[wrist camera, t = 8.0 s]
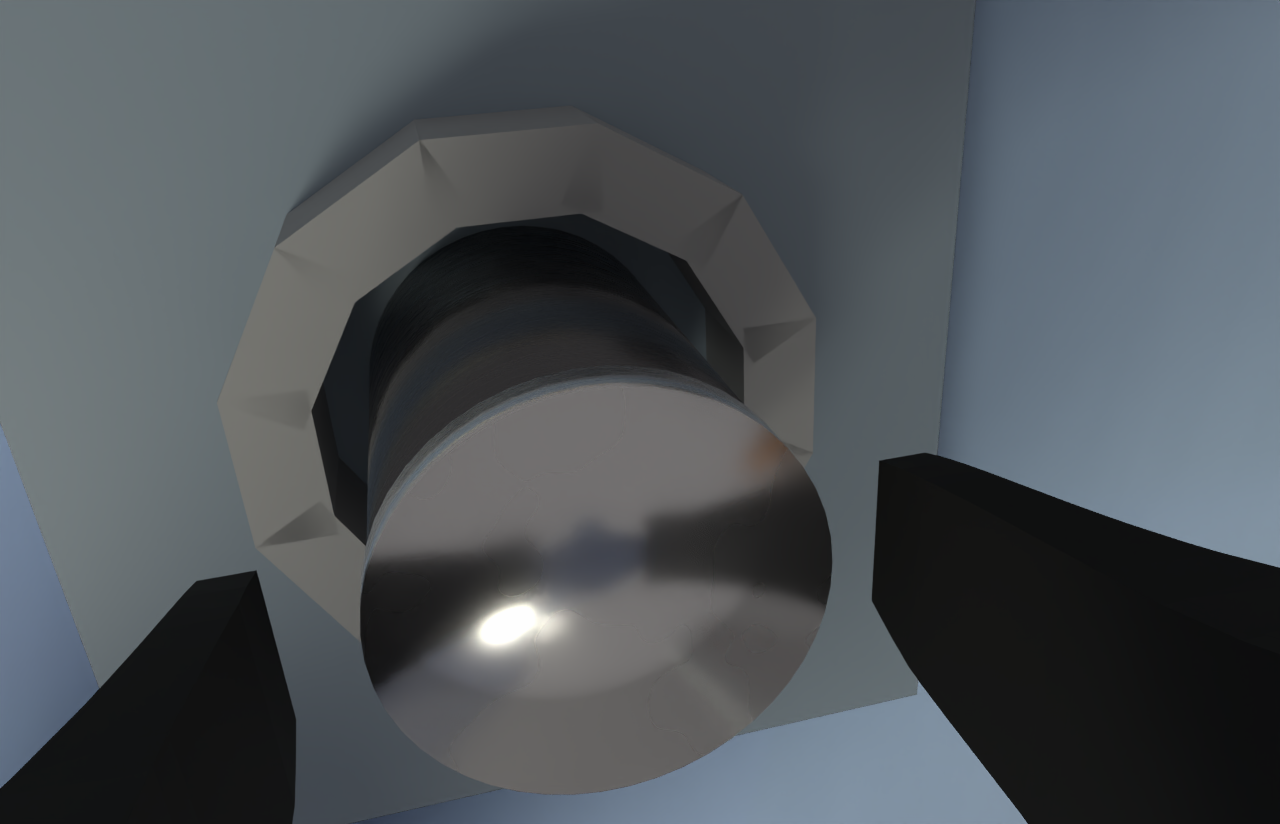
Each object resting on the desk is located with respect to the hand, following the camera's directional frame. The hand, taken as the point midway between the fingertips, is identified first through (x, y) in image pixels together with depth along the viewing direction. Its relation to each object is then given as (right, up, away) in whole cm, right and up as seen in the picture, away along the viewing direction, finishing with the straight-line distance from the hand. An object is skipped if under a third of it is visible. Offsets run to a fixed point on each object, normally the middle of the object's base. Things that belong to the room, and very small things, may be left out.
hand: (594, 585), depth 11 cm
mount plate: (-2, +3, +7) cm, 8 cm away
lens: (-2, +3, +5) cm, 6 cm away
